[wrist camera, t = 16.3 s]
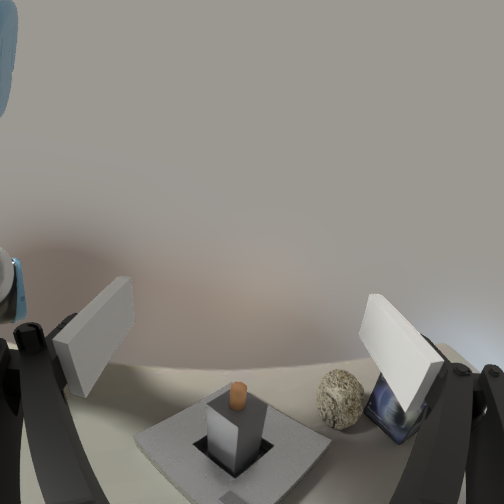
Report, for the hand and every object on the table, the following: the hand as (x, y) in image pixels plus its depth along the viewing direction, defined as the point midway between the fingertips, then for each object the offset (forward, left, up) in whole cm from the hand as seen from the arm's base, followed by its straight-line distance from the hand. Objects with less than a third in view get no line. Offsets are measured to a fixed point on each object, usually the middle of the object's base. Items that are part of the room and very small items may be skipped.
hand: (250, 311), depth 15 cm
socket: (-6, +7, -30) cm, 32 cm away
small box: (+11, +29, -30) cm, 43 cm away
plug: (-6, +7, -30) cm, 31 cm away
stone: (+1, +24, -30) cm, 39 cm away
